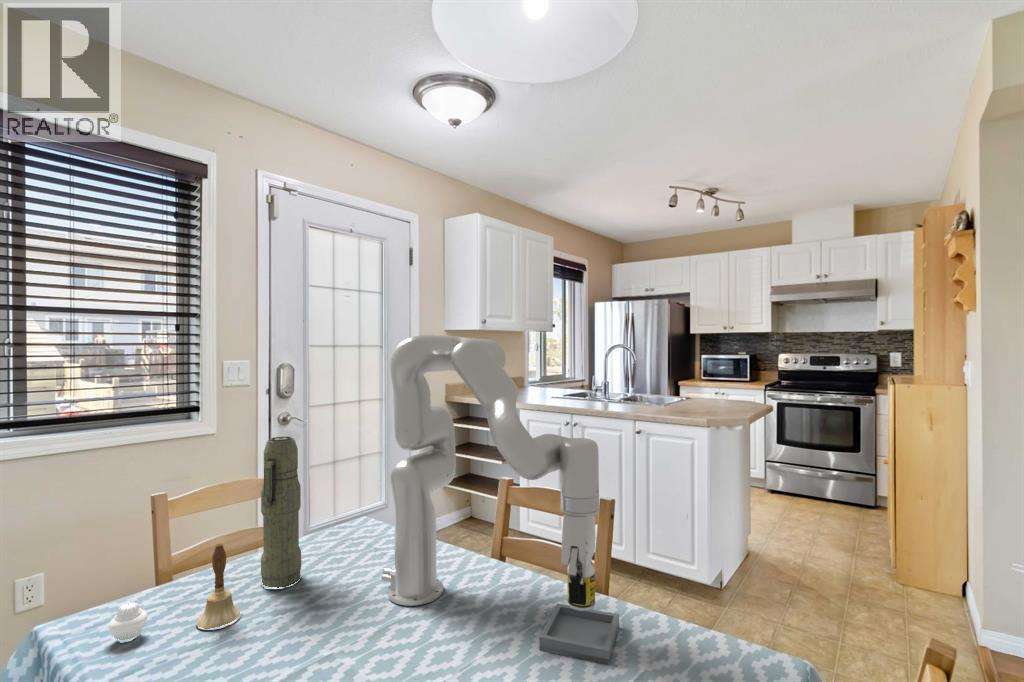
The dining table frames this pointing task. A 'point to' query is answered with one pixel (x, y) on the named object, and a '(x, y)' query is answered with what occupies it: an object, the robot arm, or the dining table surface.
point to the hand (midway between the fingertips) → (581, 594)
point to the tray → (580, 634)
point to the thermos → (280, 513)
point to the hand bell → (218, 596)
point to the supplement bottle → (590, 588)
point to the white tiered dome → (128, 621)
